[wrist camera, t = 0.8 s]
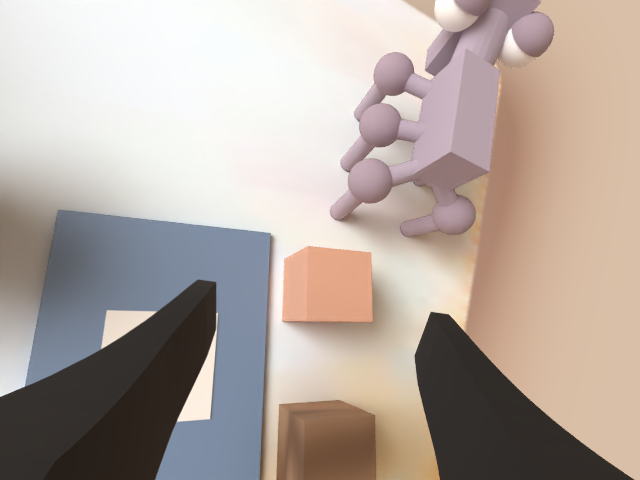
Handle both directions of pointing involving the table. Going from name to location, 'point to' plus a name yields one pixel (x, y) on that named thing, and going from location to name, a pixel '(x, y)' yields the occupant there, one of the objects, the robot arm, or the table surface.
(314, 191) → the table surface
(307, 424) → the walnut block
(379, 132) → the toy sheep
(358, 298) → the terracotta block
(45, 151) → the table surface
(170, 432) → the robot arm
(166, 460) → the board
